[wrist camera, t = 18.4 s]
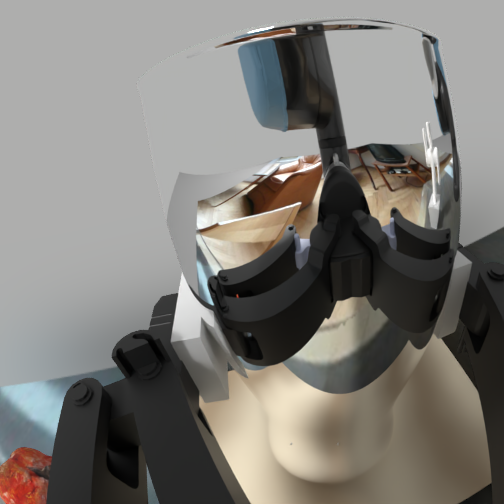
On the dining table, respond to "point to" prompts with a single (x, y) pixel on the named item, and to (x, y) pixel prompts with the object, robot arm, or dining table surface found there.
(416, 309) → the beer glass
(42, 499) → the pomegranate
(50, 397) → the dining table surface
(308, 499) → the birch board
